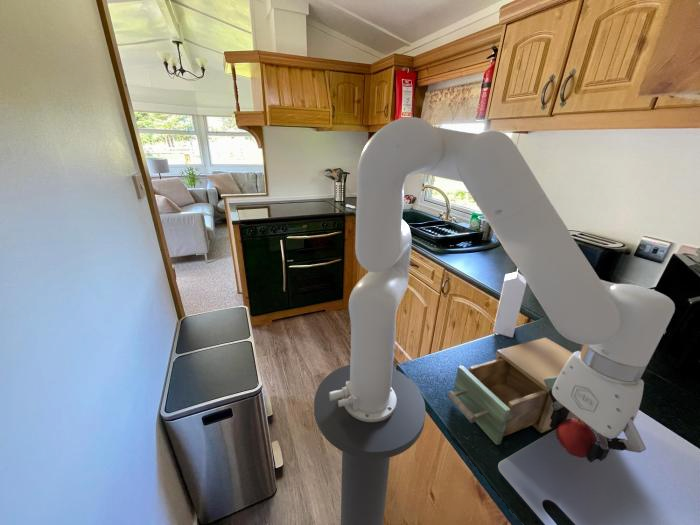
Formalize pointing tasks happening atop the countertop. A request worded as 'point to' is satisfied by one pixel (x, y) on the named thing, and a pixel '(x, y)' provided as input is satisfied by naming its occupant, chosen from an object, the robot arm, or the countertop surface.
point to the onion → (576, 437)
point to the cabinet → (538, 368)
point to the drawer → (498, 398)
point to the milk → (509, 304)
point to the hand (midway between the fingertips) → (574, 440)
